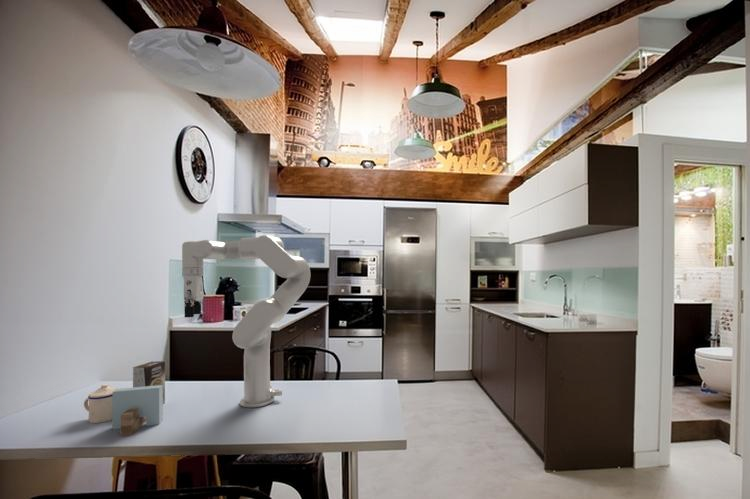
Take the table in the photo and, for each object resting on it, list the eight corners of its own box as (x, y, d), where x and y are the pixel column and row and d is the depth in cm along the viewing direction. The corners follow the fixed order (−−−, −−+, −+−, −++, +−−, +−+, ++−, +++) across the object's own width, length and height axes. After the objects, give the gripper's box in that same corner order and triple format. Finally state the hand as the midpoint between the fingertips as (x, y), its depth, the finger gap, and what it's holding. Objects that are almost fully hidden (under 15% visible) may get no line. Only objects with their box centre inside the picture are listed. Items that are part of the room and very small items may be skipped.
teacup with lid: (126, 413, 131) (126, 380, 132) (105, 423, 122) (105, 388, 123) (95, 413, 132) (95, 380, 133) (72, 423, 123) (73, 389, 124)
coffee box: (146, 412, 131) (146, 367, 132) (131, 411, 133) (132, 367, 134) (165, 403, 140) (165, 360, 141) (151, 402, 142) (151, 360, 142)
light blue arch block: (162, 420, 123) (162, 385, 124) (159, 424, 120) (159, 387, 121) (117, 425, 121) (117, 388, 121) (112, 429, 118) (112, 391, 118)
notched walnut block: (143, 415, 128) (143, 397, 128) (152, 415, 129) (152, 396, 129) (120, 436, 112) (120, 414, 113) (131, 435, 113) (131, 413, 113)
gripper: (196, 272, 136) (196, 317, 135) (208, 272, 153) (208, 312, 152) (175, 272, 135) (175, 319, 134) (189, 272, 152) (189, 313, 151)
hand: (193, 315), depth 143 cm, fingers open, 9 cm apart
